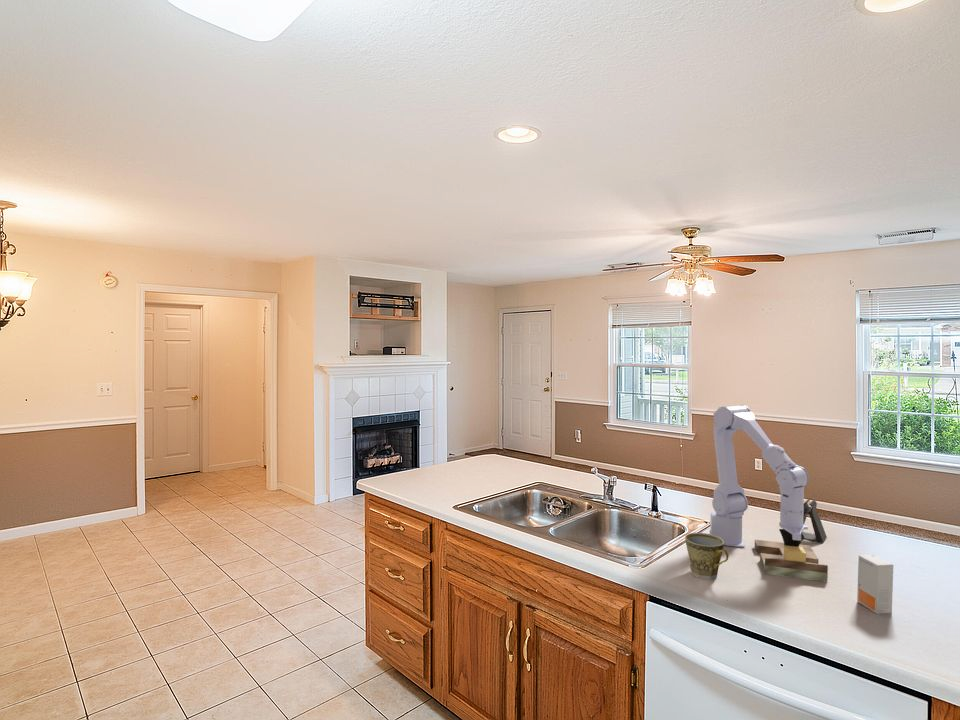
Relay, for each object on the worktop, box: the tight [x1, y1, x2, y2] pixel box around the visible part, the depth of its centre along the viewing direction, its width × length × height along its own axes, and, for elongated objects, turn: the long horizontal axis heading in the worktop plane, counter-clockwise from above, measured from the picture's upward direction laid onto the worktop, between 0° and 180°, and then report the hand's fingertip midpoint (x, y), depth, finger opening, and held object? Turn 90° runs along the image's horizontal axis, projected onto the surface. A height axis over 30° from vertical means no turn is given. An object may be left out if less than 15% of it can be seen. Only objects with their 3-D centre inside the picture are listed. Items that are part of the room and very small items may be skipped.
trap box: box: [754, 539, 829, 583], centre depth 156 cm, size 15×20×4 cm
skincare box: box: [856, 554, 894, 615], centre depth 130 cm, size 6×4×12 cm
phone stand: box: [802, 498, 828, 544], centre depth 176 cm, size 9×6×12 cm, turn 47°
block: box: [784, 545, 806, 562], centre depth 149 cm, size 4×4×4 cm
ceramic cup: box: [684, 532, 729, 581], centre depth 147 cm, size 13×10×10 cm
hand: (790, 556), depth 153 cm, fingers closed
